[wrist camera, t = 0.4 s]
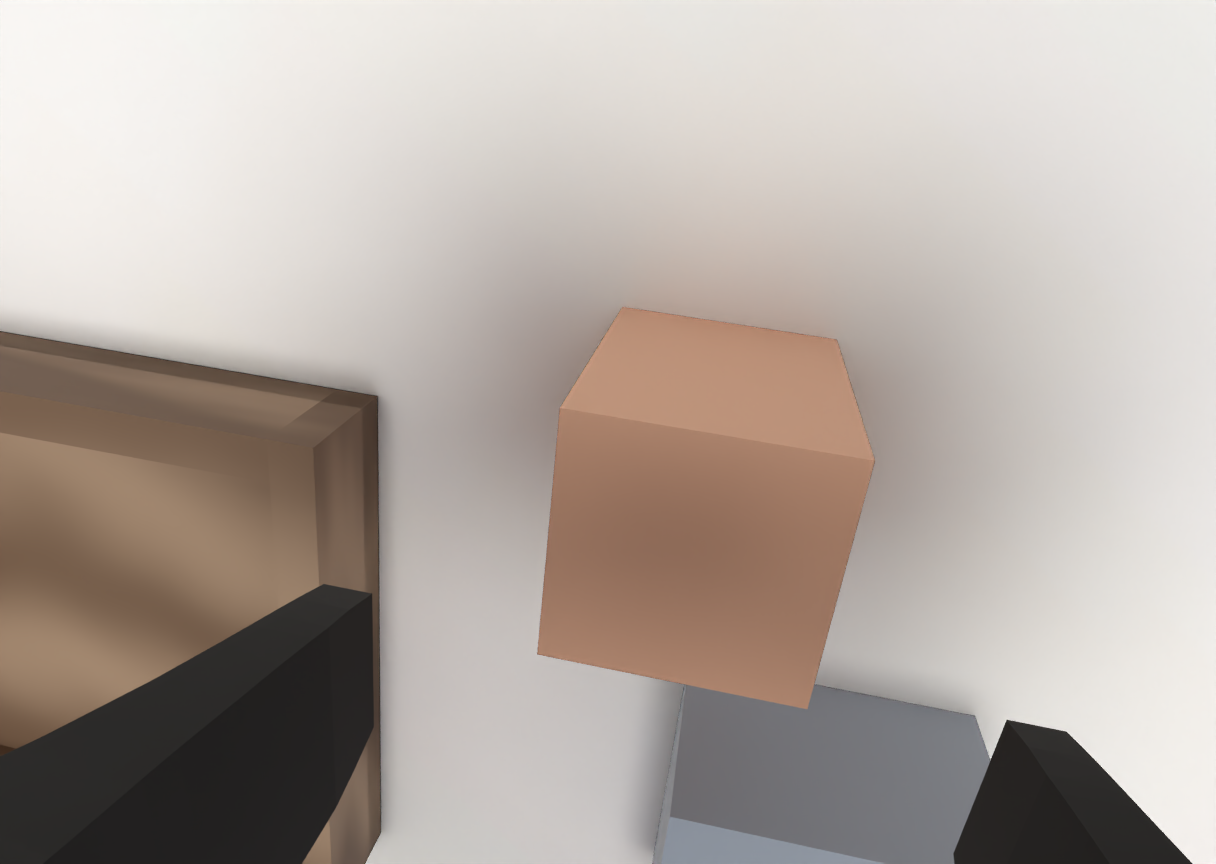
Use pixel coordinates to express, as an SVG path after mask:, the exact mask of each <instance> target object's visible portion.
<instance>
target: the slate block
mask: <svg viewBox="0 0 1216 864" xmlns="http://www.w3.org/2000/svg"><path fill="white" fill-rule="evenodd" d="M989 763H990V758H989V755H988V752H987V750H986V747H985V744H984V741H983V738H982V735H981V732H980V729H979V726H978V724H977V721H976V718H975V716H973V715H968V714H962V713H957V712H952V711H947V710H942V709H937V708H932V707H927V706H922V705H917V704H912V703H906V702H901V701H896V700H891V699H886V698H881V697H876V696H871V695H866V694H861V693H856V692H850V691H845V690H840V689H835V688H830V687H825V686H820V685H815V684H814V687H813V690H812V694H811V698H810V701H809V705H808V709H803V708H798V707H793V706H789V705H784V704H779V703H774V702H769V701H764V700H759V699H754V698H749V697H744V696H739V695H734V694H730V693H725V692H720V691H715V690H710V689H705V688H700V687H695V686H690V685H685V684H684V689H683V695H682V700H681V706H680V711H679V717H678V722H677V728H676V733H675V739H674V744H673V750H672V755H671V761H670V766H669V772H668V777H667V783H666V788H665V794H664V800H663V805H662V811H661V816H660V822H659V827H658V833H657V838H656V844H655V849H654V855H653V863H652V864H954V856H953V853H954V851H955V848H956V846H957V843H958V841H959V838H960V836H961V833H962V831H963V828H964V826H965V823H966V821H967V818H968V816H969V813H970V811H971V808H972V806H973V803H974V801H975V798H976V796H977V793H978V791H979V788H980V786H981V783H982V781H983V778H984V776H985V773H986V771H987V768H988V766H989Z"/></svg>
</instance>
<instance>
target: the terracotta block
mask: <svg viewBox="0 0 1216 864" xmlns="http://www.w3.org/2000/svg"><path fill="white" fill-rule="evenodd" d="M874 462H875V459H874V456H873V453H872V450H871V446H870V443H869V440H868V437H867V434H866V431H865V427H864V424H863V421H862V418H861V415H860V412H859V408H858V405H857V402H856V399H855V396H854V393H853V389H852V386H851V383H850V380H849V377H848V374H847V370H846V367H845V364H844V361H843V358H842V355H841V351H840V348H839V345H838V342H837V340H836V339H829V338H823V337H816V336H810V335H803V334H796V333H790V332H783V331H777V330H770V329H764V328H757V327H751V326H744V325H738V324H731V323H724V322H718V321H711V320H705V319H698V318H692V317H685V316H679V315H672V314H665V313H659V312H652V311H646V310H639V309H633V308H626V307H622V309H621V310H620V312H619V313H618V315H617V317H616V318H615V320H614V321H613V323H612V325H611V326H610V328H609V329H608V331H607V333H606V334H605V336H604V338H603V339H602V341H601V342H600V344H599V346H598V347H597V349H596V350H595V352H594V354H593V355H592V357H591V358H590V360H589V362H588V363H587V365H586V366H585V368H584V370H583V371H582V373H581V375H580V376H579V378H578V379H577V381H576V383H575V384H574V386H573V387H572V389H571V391H570V392H569V394H568V395H567V397H566V399H565V400H564V402H563V403H562V405H561V407H560V411H559V422H558V433H557V444H556V455H555V466H554V477H553V488H552V499H551V510H550V521H549V532H548V542H547V553H546V564H545V575H544V586H543V597H542V608H541V619H540V630H539V641H538V652H537V654H538V655H543V656H548V657H553V658H558V659H563V660H568V661H572V662H577V663H582V664H587V665H592V666H597V667H602V668H607V669H612V670H617V671H622V672H626V673H631V674H636V675H641V676H646V677H651V678H656V679H661V680H666V681H671V682H676V683H680V684H685V685H690V686H695V687H700V688H705V689H710V690H715V691H720V692H725V693H730V694H734V695H739V696H744V697H749V698H754V699H759V700H764V701H769V702H774V703H779V704H784V705H789V706H793V707H798V708H803V709H808V705H809V701H810V698H811V694H812V690H813V687H814V683H815V679H816V676H817V672H818V668H819V665H820V661H821V657H822V654H823V650H824V646H825V643H826V639H827V635H828V632H829V628H830V624H831V621H832V617H833V613H834V609H835V606H836V602H837V598H838V595H839V591H840V587H841V584H842V580H843V576H844V573H845V569H846V565H847V562H848V558H849V554H850V551H851V547H852V543H853V540H854V536H855V532H856V529H857V525H858V521H859V518H860V514H861V510H862V507H863V503H864V499H865V496H866V492H867V488H868V485H869V481H870V477H871V474H872V470H873V466H874Z"/></svg>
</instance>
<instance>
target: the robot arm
mask: <svg viewBox="0 0 1216 864" xmlns="http://www.w3.org/2000/svg"><path fill="white" fill-rule="evenodd" d="M373 728H374V693H373V611H372V593H367V592H362V591H357V590H352V589H347V588H342V587H337V586H332V585H327V584H323V585H321V586H319V587H317V588H315V589H313V590H311V591H309V592H307V593H305V594H304V595H302V596H300V597H298V598H296V599H295V600H293V601H291V602H289V603H287V604H286V605H284V606H282V607H280V608H279V609H277V610H275V611H273V612H272V613H270V614H268V615H266V616H265V617H263V618H261V619H260V620H258V621H256V622H254V623H253V624H251V625H249V626H247V627H246V628H244V629H242V630H240V631H239V632H237V633H235V634H233V635H232V636H230V637H228V638H227V639H225V640H223V641H221V642H219V643H218V644H216V645H214V646H212V647H210V648H209V649H207V650H205V651H203V652H202V653H200V654H198V655H196V656H194V657H193V658H191V659H189V660H187V661H186V662H184V663H182V664H180V665H178V666H177V667H175V668H173V669H171V670H169V671H168V672H166V673H164V674H162V675H161V676H159V677H157V678H155V679H153V680H151V681H150V682H148V683H146V684H144V685H142V686H140V687H138V688H136V689H134V690H132V691H130V692H128V693H126V694H124V695H122V696H120V697H118V698H116V699H115V700H113V701H111V702H109V703H107V704H105V705H103V706H101V707H99V708H97V709H95V710H93V711H91V712H89V713H87V714H85V715H83V716H81V717H79V718H78V719H76V720H74V721H72V722H70V723H68V724H66V725H64V726H62V727H60V728H58V729H56V730H54V731H52V732H50V733H48V734H46V735H44V736H42V737H40V738H38V739H36V740H34V741H32V742H30V743H28V744H25V745H23V746H21V747H19V748H17V749H15V750H13V751H11V752H8V753H6V754H4V755H2V756H0V864H302V863H303V861H304V860H305V858H306V856H307V855H308V853H309V852H310V850H311V848H312V847H313V845H314V843H315V842H316V840H317V838H318V837H319V835H320V834H321V832H322V830H323V829H324V827H325V825H326V824H327V822H328V820H329V819H330V817H331V815H332V814H333V812H334V810H335V809H336V807H337V805H338V803H339V801H340V799H341V797H342V795H343V792H344V790H345V788H346V786H347V784H348V782H349V780H350V778H351V776H352V774H353V772H354V770H355V767H356V765H357V763H358V761H359V759H360V756H361V754H362V752H363V750H364V748H365V745H366V743H367V741H368V739H369V737H370V734H371V732H372V730H373ZM953 856H954V864H1192V863H1191V862H1190V861H1189V860H1188V859H1187V857H1186V856H1185V855H1184V854H1183V853H1182V852H1181V851H1180V850H1179V849H1178V848H1177V847H1176V846H1175V845H1174V844H1173V843H1172V842H1171V840H1170V839H1169V838H1168V837H1167V836H1166V835H1165V834H1164V833H1163V832H1162V831H1161V830H1160V829H1159V828H1158V827H1157V826H1156V824H1155V823H1154V822H1153V821H1152V820H1151V819H1150V818H1149V817H1148V816H1147V815H1146V814H1145V813H1144V812H1143V811H1142V810H1141V809H1140V807H1139V806H1138V805H1137V804H1136V803H1135V802H1134V801H1133V800H1132V799H1131V798H1130V797H1129V796H1128V795H1127V794H1126V792H1125V791H1124V790H1123V789H1122V788H1121V787H1120V786H1119V785H1118V784H1117V783H1116V782H1115V781H1114V780H1113V779H1112V778H1111V777H1110V776H1109V774H1108V773H1107V772H1106V771H1105V770H1104V769H1103V768H1102V767H1101V766H1100V765H1099V764H1098V763H1097V762H1096V761H1095V760H1094V759H1093V758H1092V757H1091V756H1090V755H1089V754H1088V753H1087V752H1086V751H1085V750H1084V749H1083V748H1082V747H1081V746H1080V745H1079V744H1078V743H1077V742H1076V741H1075V740H1074V739H1073V738H1072V737H1071V736H1070V735H1069V734H1068V733H1067V732H1065V731H1060V730H1055V729H1050V728H1045V727H1040V726H1035V725H1030V724H1025V723H1020V722H1015V721H1010V720H1007V721H1006V723H1005V726H1004V728H1003V731H1002V733H1001V736H1000V738H999V741H998V743H997V746H996V748H995V751H994V753H993V756H992V758H991V761H990V763H989V766H988V768H987V771H986V773H985V776H984V778H983V781H982V783H981V786H980V788H979V791H978V793H977V796H976V798H975V801H974V803H973V806H972V808H971V811H970V813H969V816H968V818H967V821H966V823H965V826H964V828H963V831H962V833H961V836H960V838H959V841H958V843H957V846H956V848H955V851H954V853H953Z"/></svg>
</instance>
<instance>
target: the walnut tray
mask: <svg viewBox="0 0 1216 864" xmlns="http://www.w3.org/2000/svg"><path fill="white" fill-rule="evenodd" d="M323 584H327V585H332V586H337V587H342V588H347V589H352V590H357V591H362V592H367V593H372V611H373V693H374V728H373V730H372V732H371V734H370V737H369V739H368V741H367V743H366V745H365V748H364V750H363V752H362V754H361V756H360V759H359V761H358V763H357V765H356V767H355V770H354V772H353V774H352V776H351V778H350V780H349V782H348V784H347V786H346V788H345V790H344V792H343V795H342V797H341V799H340V801H339V803H338V805H337V807H336V809H335V810H334V812H333V814H332V815H331V817H330V819H329V820H328V822H327V824H326V825H325V827H324V829H323V830H322V832H321V834H320V835H319V837H318V838H317V840H316V842H315V843H314V845H313V847H312V848H311V850H310V852H309V853H308V855H307V856H306V858H305V860H304V861H303V863H302V864H365V863H366V861H367V859H368V857H369V855H370V853H371V851H372V849H373V847H374V845H375V843H376V841H377V839H378V837H379V835H380V833H381V817H380V687H379V558H378V428H377V396H372V395H366V394H360V393H354V392H349V391H343V390H337V389H331V388H325V387H320V386H314V385H308V384H302V383H296V382H290V381H285V380H279V379H273V378H267V377H261V376H255V375H250V374H244V373H238V372H232V371H226V370H220V369H215V368H209V367H203V366H197V365H191V364H185V363H180V362H174V361H168V360H162V359H156V358H150V357H145V356H139V355H133V354H127V353H121V352H115V351H110V350H104V349H98V348H92V347H86V346H80V345H75V344H69V343H63V342H57V341H51V340H46V339H40V338H34V337H28V336H22V335H16V334H11V333H5V332H0V756H2V755H4V754H6V753H8V752H11V751H13V750H15V749H17V748H19V747H21V746H23V745H25V744H28V743H30V742H32V741H34V740H36V739H38V738H40V737H42V736H44V735H46V734H48V733H50V732H52V731H54V730H56V729H58V728H60V727H62V726H64V725H66V724H68V723H70V722H72V721H74V720H76V719H78V718H79V717H81V716H83V715H85V714H87V713H89V712H91V711H93V710H95V709H97V708H99V707H101V706H103V705H105V704H107V703H109V702H111V701H113V700H115V699H116V698H118V697H120V696H122V695H124V694H126V693H128V692H130V691H132V690H134V689H136V688H138V687H140V686H142V685H144V684H146V683H148V682H150V681H151V680H153V679H155V678H157V677H159V676H161V675H162V674H164V673H166V672H168V671H169V670H171V669H173V668H175V667H177V666H178V665H180V664H182V663H184V662H186V661H187V660H189V659H191V658H193V657H194V656H196V655H198V654H200V653H202V652H203V651H205V650H207V649H209V648H210V647H212V646H214V645H216V644H218V643H219V642H221V641H223V640H225V639H227V638H228V637H230V636H232V635H233V634H235V633H237V632H239V631H240V630H242V629H244V628H246V627H247V626H249V625H251V624H253V623H254V622H256V621H258V620H260V619H261V618H263V617H265V616H266V615H268V614H270V613H272V612H273V611H275V610H277V609H279V608H280V607H282V606H284V605H286V604H287V603H289V602H291V601H293V600H295V599H296V598H298V597H300V596H302V595H304V594H305V593H307V592H309V591H311V590H313V589H315V588H317V587H319V586H321V585H323Z"/></svg>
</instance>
